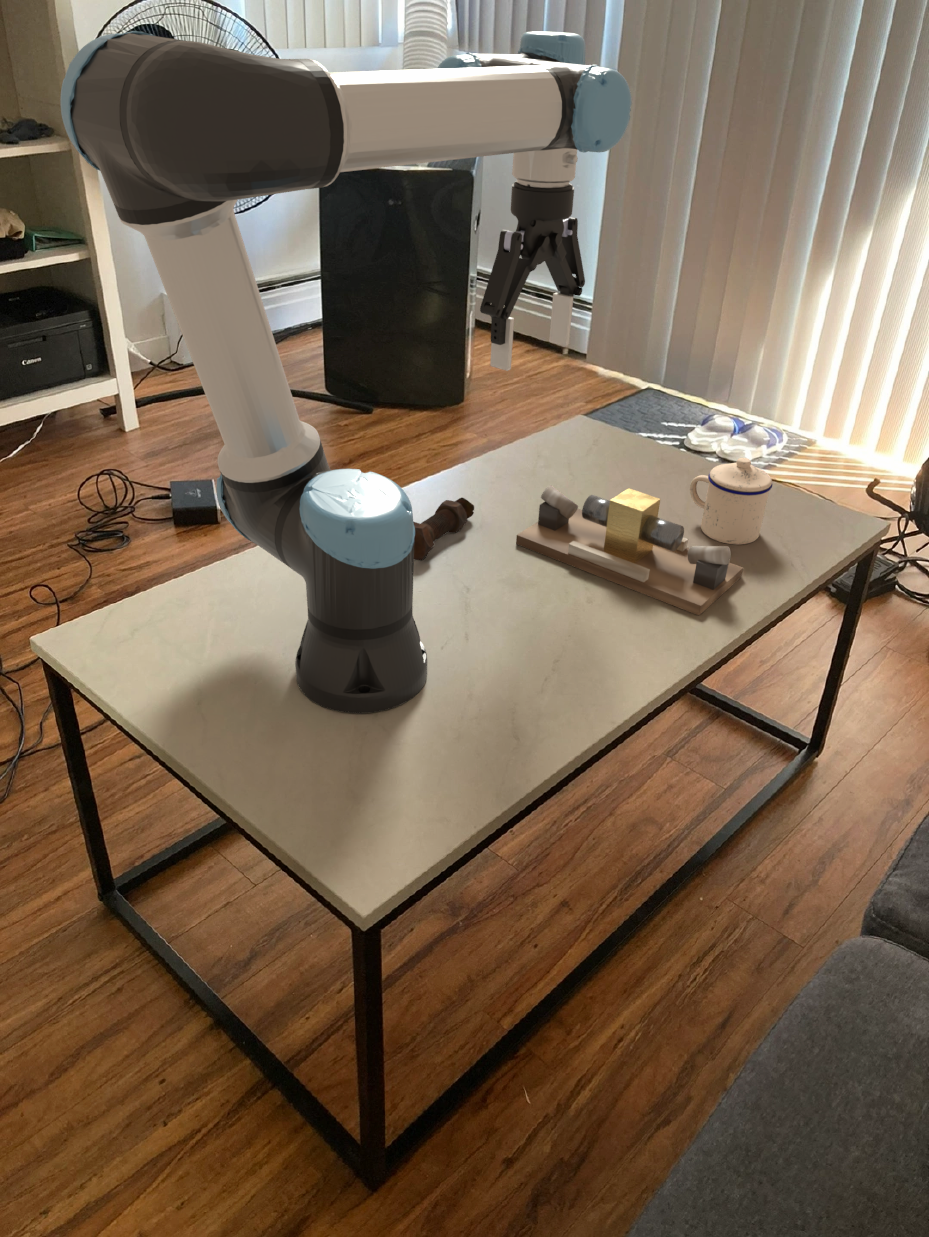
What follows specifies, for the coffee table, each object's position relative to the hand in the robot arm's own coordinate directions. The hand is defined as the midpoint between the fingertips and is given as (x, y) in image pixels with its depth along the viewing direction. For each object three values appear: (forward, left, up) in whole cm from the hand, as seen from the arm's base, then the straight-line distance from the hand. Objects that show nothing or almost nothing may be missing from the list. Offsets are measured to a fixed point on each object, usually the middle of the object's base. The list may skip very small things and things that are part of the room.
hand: (530, 355), depth 130 cm
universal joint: (+4, -16, -25) cm, 30 cm away
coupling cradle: (+4, -16, -27) cm, 31 cm away
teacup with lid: (+22, -22, -27) cm, 41 cm away
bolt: (-8, +8, -27) cm, 29 cm away
